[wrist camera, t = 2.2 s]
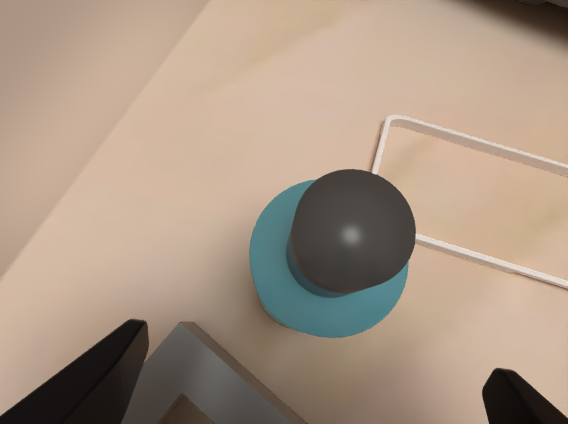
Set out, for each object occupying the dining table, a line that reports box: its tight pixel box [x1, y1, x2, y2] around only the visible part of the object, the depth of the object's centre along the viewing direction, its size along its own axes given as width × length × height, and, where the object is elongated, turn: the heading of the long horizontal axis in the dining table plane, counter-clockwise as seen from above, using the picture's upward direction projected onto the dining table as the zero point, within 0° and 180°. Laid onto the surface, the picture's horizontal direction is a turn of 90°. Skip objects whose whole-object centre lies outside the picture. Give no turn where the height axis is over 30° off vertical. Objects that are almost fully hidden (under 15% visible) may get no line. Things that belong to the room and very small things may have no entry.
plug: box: [250, 169, 416, 338], centre depth 13 cm, size 4×4×13 cm
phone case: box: [371, 115, 568, 289], centre depth 21 cm, size 7×1×15 cm
